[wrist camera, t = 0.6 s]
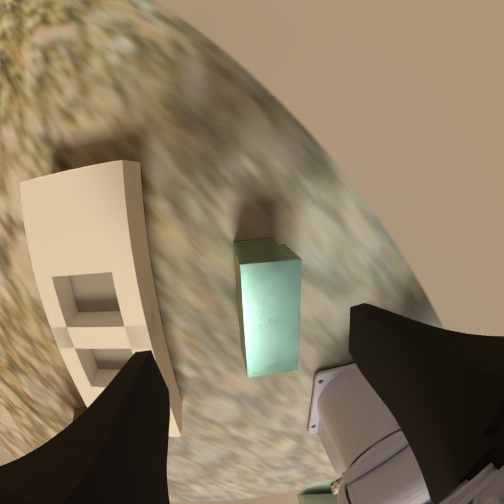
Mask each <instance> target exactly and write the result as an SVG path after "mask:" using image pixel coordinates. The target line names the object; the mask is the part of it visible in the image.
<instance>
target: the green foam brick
mask: <svg viewBox="0 0 504 504" xmlns="http://www.w3.org/2000/svg"><path fill="white" fill-rule="evenodd" d="M233 242H234V257H235V272H236V286H237V300H238V314H239V327H240V340H241V350H242V355H243V359H244V363H245V368H246V372H247V376H248V377H255V376H262V375H269V374H275V373H281V372H287V371H293V370H297V365H298V347H299V325H300V294H301V259H300V258H299V257H298V256H297V255H296V254H295V253H294V252H293V251H292V250H291V249H290V248H289V247H287V246H286V245H285V244H279V245H278V244H277V243H276V242H275V241H274V240H273V239H272V238H266V239H254V240H242V241H233Z"/></svg>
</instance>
